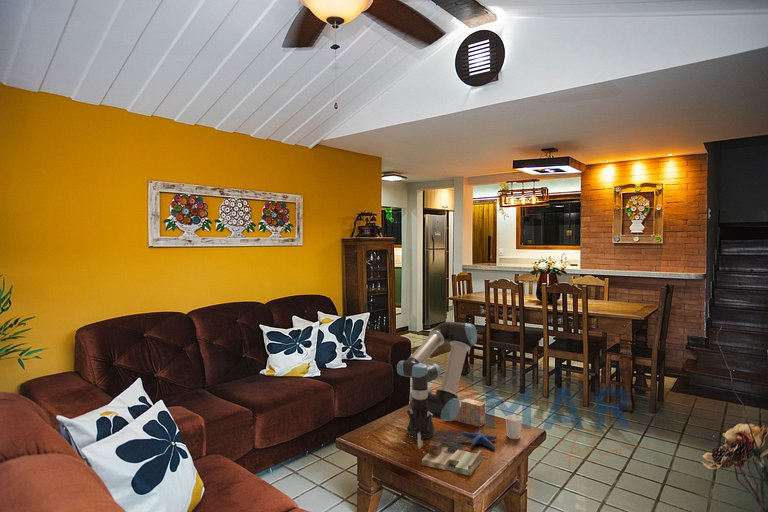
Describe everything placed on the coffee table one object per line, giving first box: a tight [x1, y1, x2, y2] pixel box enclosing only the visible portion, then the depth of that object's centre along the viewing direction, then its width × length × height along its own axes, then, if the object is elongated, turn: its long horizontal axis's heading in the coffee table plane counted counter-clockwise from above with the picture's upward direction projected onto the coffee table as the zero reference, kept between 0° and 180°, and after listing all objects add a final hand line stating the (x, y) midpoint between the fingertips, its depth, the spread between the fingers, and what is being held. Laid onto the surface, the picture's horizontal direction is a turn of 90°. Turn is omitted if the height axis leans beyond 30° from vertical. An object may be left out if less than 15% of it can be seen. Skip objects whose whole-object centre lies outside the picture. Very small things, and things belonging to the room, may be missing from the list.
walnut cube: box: [428, 440, 442, 456], centre depth 217 cm, size 4×4×4 cm
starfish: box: [461, 429, 497, 451], centre depth 232 cm, size 19×19×5 cm
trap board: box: [421, 445, 483, 477], centre depth 212 cm, size 23×17×4 cm
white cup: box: [505, 414, 522, 440], centre depth 240 cm, size 8×8×10 cm
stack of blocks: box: [453, 398, 486, 428], centre depth 263 cm, size 21×6×12 cm, turn 50°
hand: (420, 446), depth 220 cm, fingers closed
